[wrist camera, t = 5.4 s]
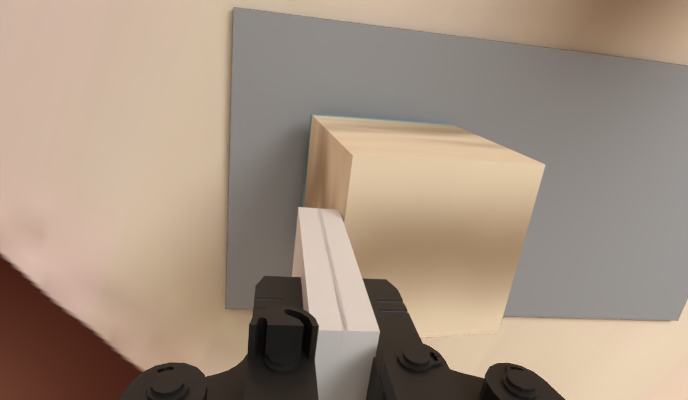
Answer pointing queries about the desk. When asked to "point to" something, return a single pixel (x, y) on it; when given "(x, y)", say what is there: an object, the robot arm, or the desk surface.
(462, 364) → the desk surface
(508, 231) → the block
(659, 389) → the desk surface
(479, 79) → the mat
